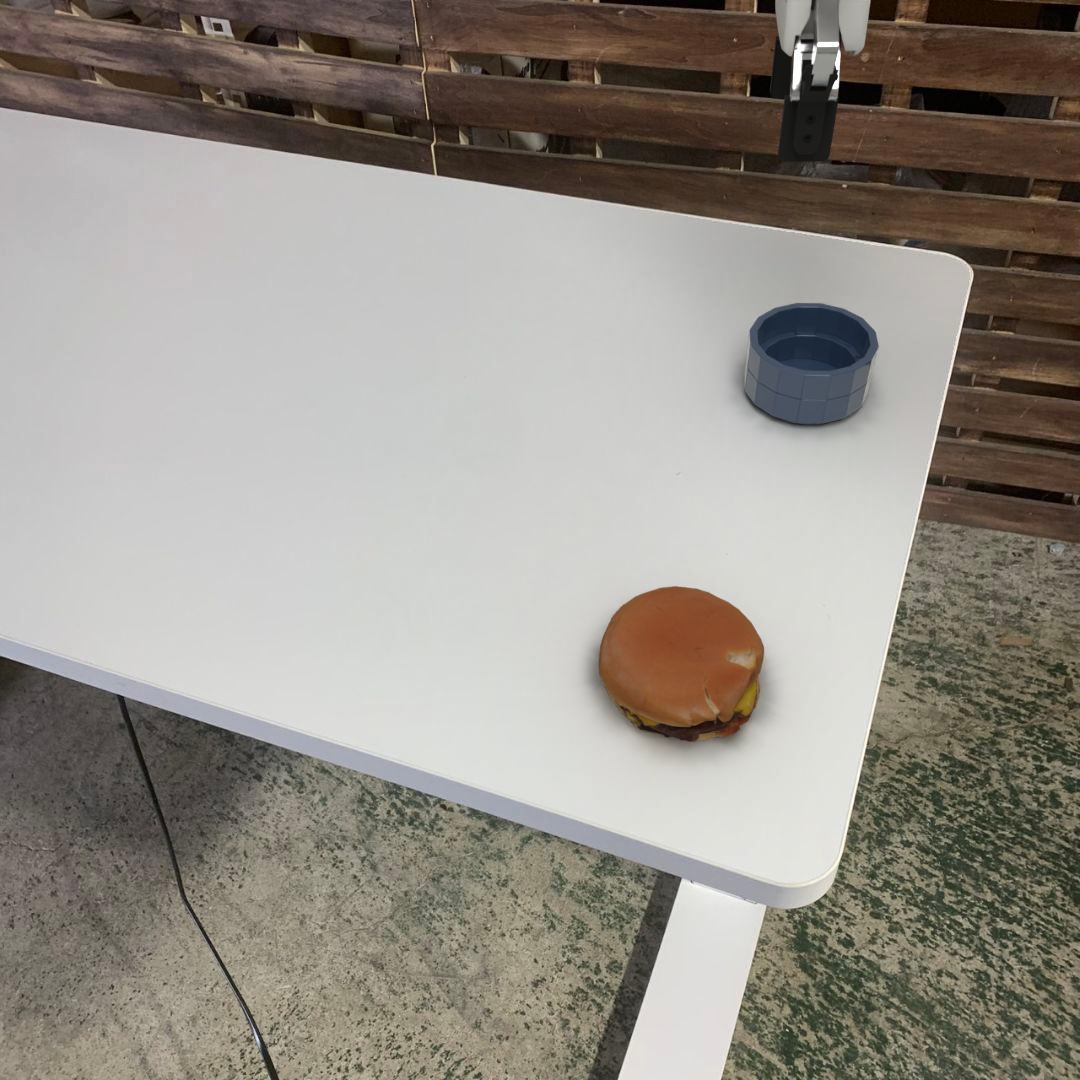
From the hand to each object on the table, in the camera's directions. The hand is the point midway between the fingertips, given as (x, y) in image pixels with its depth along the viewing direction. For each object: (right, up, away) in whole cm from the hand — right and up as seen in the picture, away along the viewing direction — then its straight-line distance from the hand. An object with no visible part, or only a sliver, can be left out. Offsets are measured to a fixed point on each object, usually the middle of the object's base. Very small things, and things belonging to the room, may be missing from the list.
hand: (797, 126), depth 66 cm
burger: (-9, -37, -8) cm, 39 cm away
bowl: (+3, -17, +9) cm, 19 cm away
